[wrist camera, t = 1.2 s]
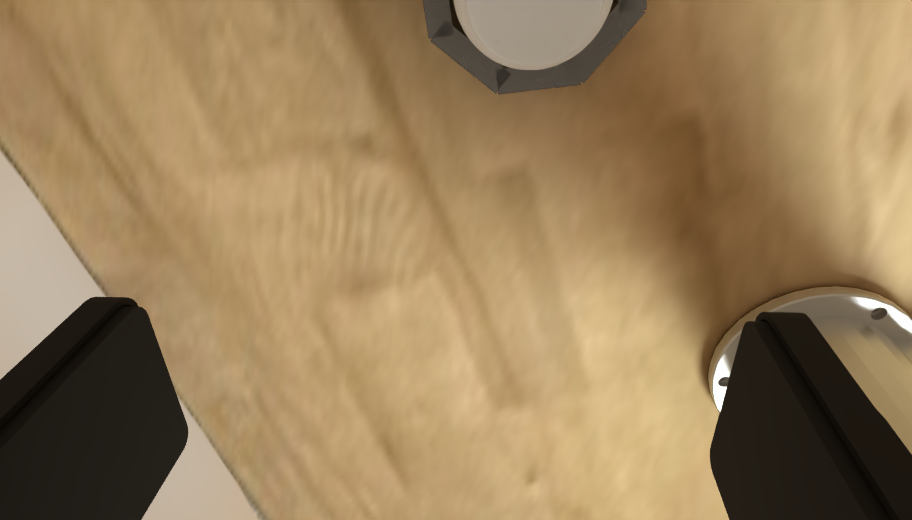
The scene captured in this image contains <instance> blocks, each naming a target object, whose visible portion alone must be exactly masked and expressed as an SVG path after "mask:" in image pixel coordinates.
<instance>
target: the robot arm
mask: <svg viewBox="0 0 912 520" xmlns="http://www.w3.org/2000/svg"><path fill="white" fill-rule="evenodd" d="M708 381H709V389H710V393H711V395H712V398H713V401H714V404H715V406H716V408H717V410H718V411H719V413H720V414H719V418H718V421H717V425H716V429H715V433H714V436H713V440H712V444H711V448H710V463H711V468H712V472H713V475H714V478H715V480H716V483H717V486H718V489H719V492H720V494H721V497H722V500H723V503H724V506H725V508H726V511H727V514H728V517H729V520H912V318H911V317H910V316H909V315H908V314H907V313H906V312H905V311H904V310H903V309H901V308H900V307H899V306H898V305H897V304H895V303H894V302H893V301H891V300H889V299H887V298H885V297H883V296H881V295H879V294H877V293H873V292H869V291H866V290H862V289H858V288H849V287H839V286H833V287H817V288H811V289H806V290H801V291H796V292H792V293H789V294H786V295H784V296H781V297H778V298H775V299H773V300H771V301H769V302H767V303H765V304H763V305H761V306H759V307H757V308H755V309H754V310H752V311H751V312H750V313H748V314H747V315H746V316H744V317H743V318H741V319H740V320H739V321H738V322H737V323H736V324H735V325H734V326H733V327H732V328H731V329H730V330H729V331H728V332H727V333H726V334H725V335H724V337H723V338H722V340H721V341H720V343H719V344H718V346H717V347H716V349H715V352H714V354H713V357H712V359H711V362H710V367H709V374H708ZM187 438H188V427H187V423H186V420H185V417H184V415H183V412H182V409H181V406H180V403H179V400H178V398H177V395H176V392H175V389H174V386H173V384H172V381H171V378H170V375H169V372H168V370H167V367H166V364H165V361H164V358H163V355H162V353H161V350H160V347H159V344H158V341H157V339H156V336H155V333H154V330H153V327H152V325H151V322H150V319H149V316H148V314H147V312H146V310H145V309H143V308H142V307H138V305H137V303H136V302H135V301H134V300H133V299H130V298H125V297H93V298H90V299H88V300H87V301H85V302H84V303H83V304H82V305H81V306H80V307H79V308H78V309H77V310H75V311H74V312H73V313H72V314H71V315H70V316H69V317H68V318H67V319H66V320H65V321H63V322H62V323H61V324H60V325H59V326H58V327H57V328H56V329H55V330H54V331H53V332H52V333H51V334H50V335H48V336H47V337H46V338H45V339H44V340H43V341H42V342H41V343H40V344H39V345H38V346H36V347H35V348H34V349H33V350H32V351H31V352H30V353H29V354H28V355H27V356H26V357H24V358H23V359H22V360H21V361H20V362H19V363H18V364H17V365H16V366H15V367H14V368H13V369H11V370H10V371H9V372H8V373H7V374H6V375H5V376H4V377H3V378H2V379H1V380H0V520H141V519H142V517H143V516H144V514H145V512H146V511H147V509H148V507H149V506H150V504H151V503H152V501H153V499H154V498H155V496H156V494H157V493H158V491H159V489H160V488H161V486H162V484H163V482H164V481H165V479H166V477H167V476H168V474H169V473H170V471H171V469H172V468H173V466H174V465H175V463H176V461H177V460H178V458H179V456H180V455H181V453H182V451H183V450H184V448H185V445H186V442H187Z"/></svg>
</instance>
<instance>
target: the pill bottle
mask: <svg viewBox="0 0 912 520" xmlns="http://www.w3.org/2000/svg"><path fill="white" fill-rule="evenodd" d="M453 1H454V6H455V10H456V14H457V17H458V19H459V22H460V24H461V26H462V28H463V30H464V32H465V34H466V35H467V37H468V38H469V40H470V41H471V42H472V43H473V44H474V46H475V47H476V48H477V49H478V50H479V51H481V52H482V53H483V54H484V55H485V56H487V57H488V58H490V59H491V60H493V61H495V62H497V63H499V64H501V65H504V66H506V67H509V68H514V69H520V70H540V69H546V68H550V67H553V66H556V65H559V64H561V63H563V62H565V61H567V60H569V59H571V58H573V57H574V56H575V55H577V54H578V53H580V52H581V51H582V50H583V49H584V48H585V47H586V46H587V45H588V44H589V43H590V42H591V41H592V40H593V39H594V37H595V36H596V35H597V34H598V32H599V31H600V29H601V28H602V26H603V24H604V22H605V20H606V18H607V16H608V14H609V11H610V9H611V6H612V2H613V0H453Z"/></svg>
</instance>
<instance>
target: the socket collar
mask: <svg viewBox="0 0 912 520" xmlns="http://www.w3.org/2000/svg"><path fill="white" fill-rule="evenodd" d="M423 4H424V10H425V17H426V23H427V30H428V36H429V38H432V39H431V42H432V43H433V44H435V45H436V46H437V47H438V48H440V49H441V50H442V51H443V52H445V53H446V54H447V55H448V56H450V57H451V58H452V59H453V60H455V61H456V62H457V63H458V64H460V65H461V66H462V67H463V68H464V69H466V70H467V71H468V72H469V73H471V74H472V75H473V76H474V77H476V78H477V79H478V80H479V81H481V82H482V83H483V84H484V85H486V86H487V87H488V88H489V89H491V90H492V91H493V92H494V93H497V91H498V94H505V93H514V92H523V91H531V90H540V89H548V88H557V87H566V86H574V85H581V82H583V83H584V82H585V81H586V80H587V79H588V78H589V77H590V75H591V74H592V73H593V72H594V71H595V70H596V68H597V67H598V66H599V65H600V64H601V63H602V62H603V60H604V59H605V58H606V57H607V56H608V55H609V53H610V52H611V51H612V50H613V49H614V48H615V47H616V45H617V44H618V43H619V42H620V41H621V40H622V39H623V37H624V36H625V35H626V34H627V33H628V32H629V30H630V29H631V28H632V27H633V26H634V25H635V24H636V22H637V21H638V20H639V19H640V18H641V17H642V16H643V14H644V13H645V12H644V11H643V10H646V0H613V2H612V6H611V9H610V11H609V14H608V16H607V18H606V20H605V22H604V24H603V26H602V28H601V29H600V31H599V32H598V34H597V35H596V36H595V37H594V39H593V40H592V41H591V42H590V43H589V44H588V45H587V46H586V47H585V48H584V49H583V50H582V51H581V52H580V53H578V54H577V55H575V56H574V57H573V58H571V59H569V60H567V61H565V62H563V63H561V64H559V65H556V66H553V67H550V68H546V69H540V70H520V69H514V68H509V67H506V66H504V65H501V64H499V63H497V62H495V61H493V60H491V59H490V58H488V57H487V56H485V55H484V54H483V53H482V52H481V51H479V50H478V49H477V48H476V47H475V46H474V44H473V43H472V42H471V41H470V40H469V38H468V37H467V35H466V34H465V32H464V30H463V28H462V26H461V24H460V22H459V19H458V17H457V14H456V10H455V6H454V1H453V0H423Z"/></svg>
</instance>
